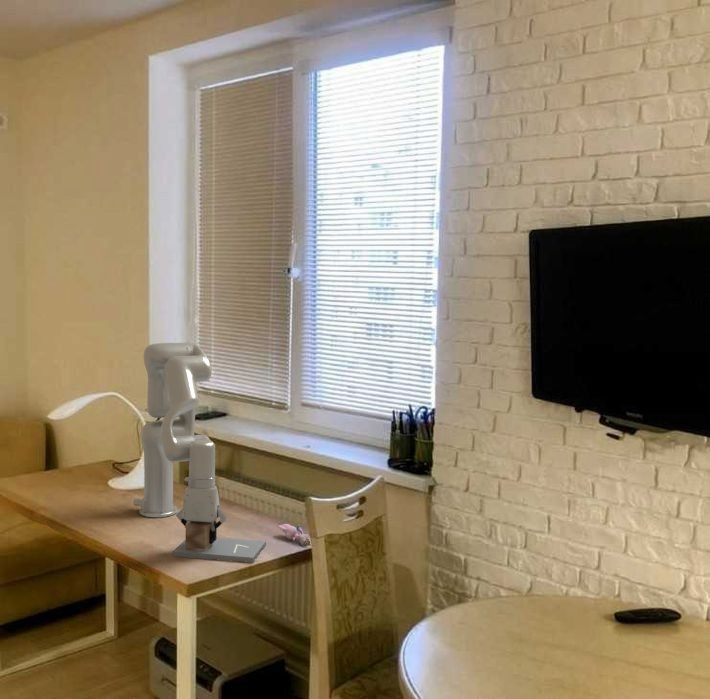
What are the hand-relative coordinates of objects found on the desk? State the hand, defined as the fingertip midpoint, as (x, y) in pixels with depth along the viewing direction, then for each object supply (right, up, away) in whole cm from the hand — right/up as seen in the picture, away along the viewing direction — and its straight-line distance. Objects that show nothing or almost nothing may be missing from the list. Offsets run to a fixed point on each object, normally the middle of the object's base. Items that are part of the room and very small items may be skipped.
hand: (201, 541), depth 231 cm
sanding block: (0, -1, 0) cm, 1 cm away
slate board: (+6, -3, -1) cm, 6 cm away
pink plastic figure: (+27, -3, +11) cm, 29 cm away
